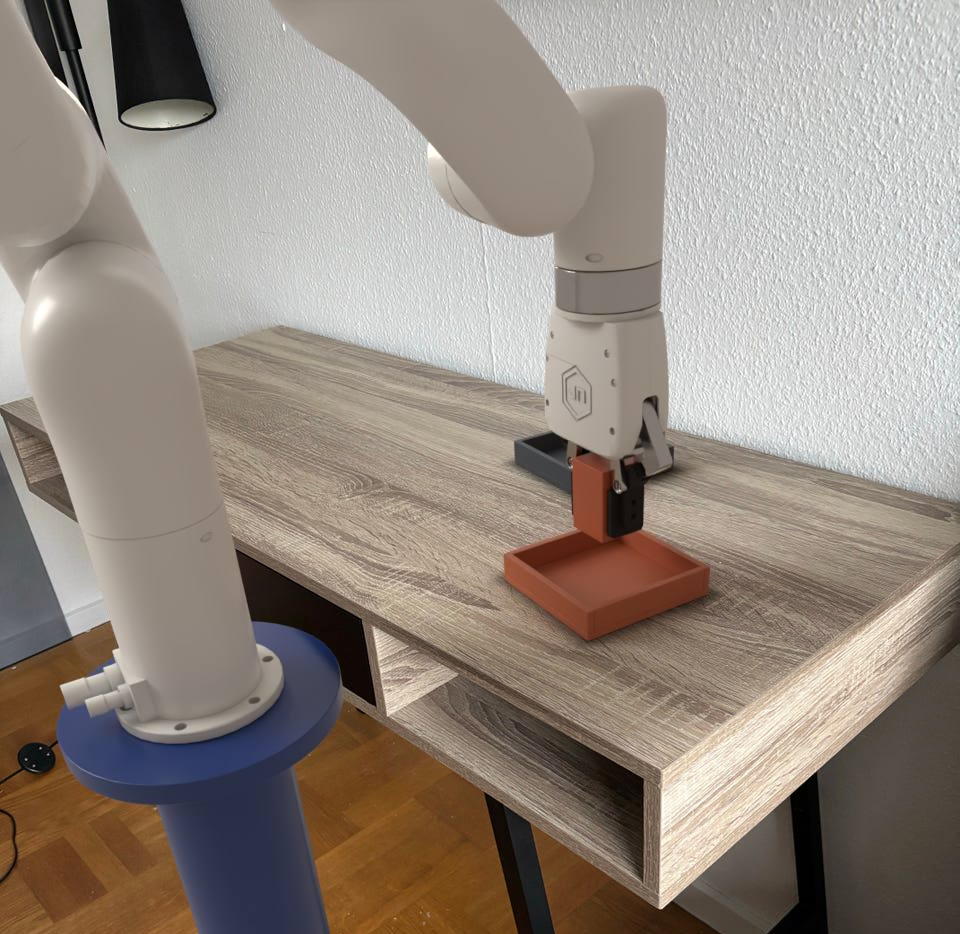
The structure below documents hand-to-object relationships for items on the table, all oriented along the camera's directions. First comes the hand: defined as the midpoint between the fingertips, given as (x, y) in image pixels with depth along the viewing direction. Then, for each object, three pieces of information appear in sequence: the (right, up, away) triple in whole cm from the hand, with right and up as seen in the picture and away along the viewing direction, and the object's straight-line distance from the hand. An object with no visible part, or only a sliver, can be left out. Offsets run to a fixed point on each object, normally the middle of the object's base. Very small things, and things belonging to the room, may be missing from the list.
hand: (606, 520), depth 77 cm
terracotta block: (0, -1, 0) cm, 1 cm away
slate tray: (+2, +9, +26) cm, 27 cm away
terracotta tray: (0, -5, +3) cm, 6 cm away
